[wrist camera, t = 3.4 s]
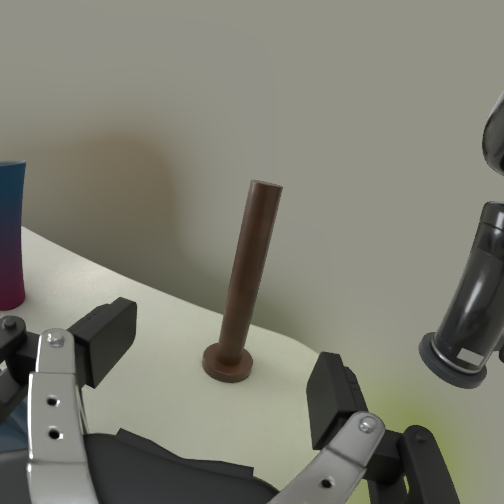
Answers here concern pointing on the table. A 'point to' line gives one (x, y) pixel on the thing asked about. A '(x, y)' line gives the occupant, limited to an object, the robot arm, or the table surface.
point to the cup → (11, 233)
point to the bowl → (15, 428)
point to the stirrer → (244, 285)
